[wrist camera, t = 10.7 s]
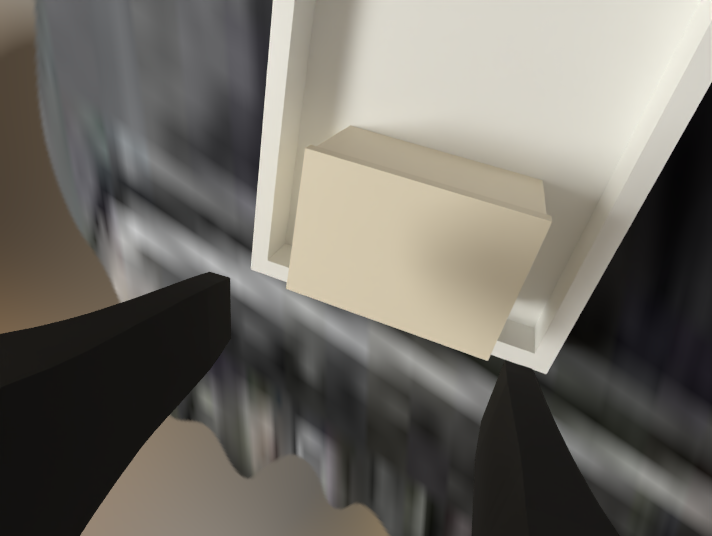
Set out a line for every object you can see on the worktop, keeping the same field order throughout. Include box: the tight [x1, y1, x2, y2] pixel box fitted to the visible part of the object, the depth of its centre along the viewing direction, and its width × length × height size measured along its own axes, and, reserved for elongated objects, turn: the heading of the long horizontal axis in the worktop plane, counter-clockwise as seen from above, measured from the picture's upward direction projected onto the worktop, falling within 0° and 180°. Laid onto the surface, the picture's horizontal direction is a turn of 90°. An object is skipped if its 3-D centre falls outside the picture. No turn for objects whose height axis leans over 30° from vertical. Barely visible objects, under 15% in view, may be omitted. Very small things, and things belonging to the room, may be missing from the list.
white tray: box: [251, 0, 712, 374], centre depth 17 cm, size 14×18×2 cm
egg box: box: [286, 126, 552, 361], centre depth 18 cm, size 8×6×4 cm
